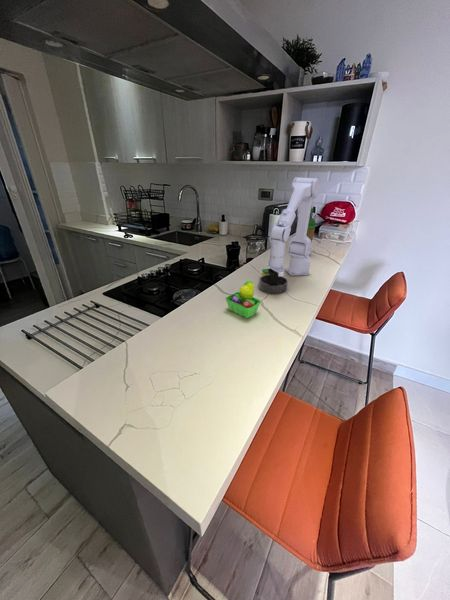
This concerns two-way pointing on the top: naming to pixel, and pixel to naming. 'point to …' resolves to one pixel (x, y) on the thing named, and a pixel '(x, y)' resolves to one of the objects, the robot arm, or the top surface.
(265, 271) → the sponge
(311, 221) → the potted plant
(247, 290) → the fruit basket
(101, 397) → the top surface
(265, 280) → the pan
